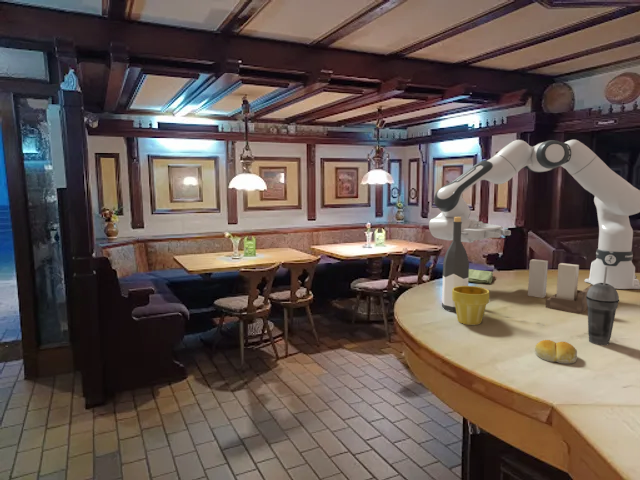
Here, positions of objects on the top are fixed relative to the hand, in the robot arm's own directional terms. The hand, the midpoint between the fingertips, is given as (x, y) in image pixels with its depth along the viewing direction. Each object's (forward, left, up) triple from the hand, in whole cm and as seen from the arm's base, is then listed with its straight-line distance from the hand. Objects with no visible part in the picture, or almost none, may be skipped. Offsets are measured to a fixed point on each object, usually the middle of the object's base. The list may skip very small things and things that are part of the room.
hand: (505, 234), depth 162 cm
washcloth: (-18, -18, -23) cm, 34 cm away
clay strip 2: (+10, +24, -21) cm, 33 cm away
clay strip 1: (0, +12, -22) cm, 25 cm away
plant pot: (+39, +6, -22) cm, 45 cm away
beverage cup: (+32, +38, -22) cm, 55 cm away
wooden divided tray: (+5, +24, -22) cm, 33 cm away
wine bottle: (+29, -4, -22) cm, 37 cm away
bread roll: (+50, +33, -23) cm, 64 cm away
